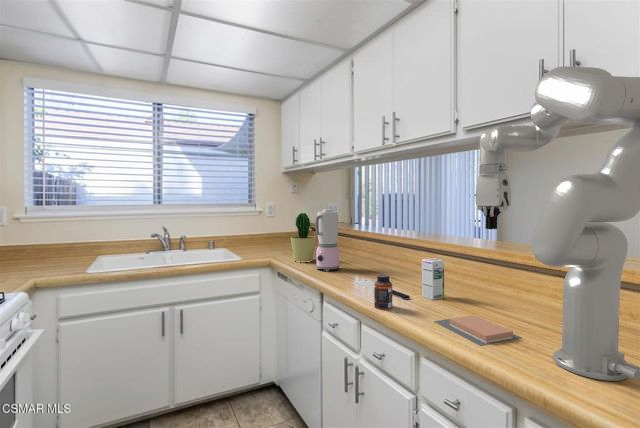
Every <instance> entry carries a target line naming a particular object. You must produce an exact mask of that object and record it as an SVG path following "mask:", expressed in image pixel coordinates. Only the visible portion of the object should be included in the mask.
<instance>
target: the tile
mask: <svg viewBox="0 0 640 428" xmlns="http://www.w3.org/2000/svg"><path fill="white" fill-rule="evenodd" d="M449 319H450V325H451V326H453V327H455V328H457V329H459V330H461V331H463V332H465V333H467V334H469V335H471V336H473V337H475V338H477V339H479V340H481V341H483V342H485V343H489V342H495V341H500V340H506V339H511V338H513V334H514V330H511V329H510V328H506V327H504V326H502V325H499V324H497V323H495V322H492V321H489V320H487V319H484V318H482V317H480V316H478V315H474V314H472V315H468V316H467V315H466V316H460V317H454V318H453V319H452V318H449Z"/></svg>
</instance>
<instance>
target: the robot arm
mask: <svg viewBox="0 0 640 428" xmlns="http://www.w3.org/2000/svg"><path fill="white" fill-rule="evenodd" d="M534 98H535V102H534V103H533V104H532V105H531V108H530V118H531V119H530V120H531V121H532V123H533V124H530V125H521V124H519V125H517V124H515V125H514V124H512V125H510V124H509V125H508V124H507V125H506V124H505V125H504V124H503V125H502V124H501V125H497V126H494V127H493V128H492V129H490V130H488V131H485V132H482V133H481V134H480V136H479V156H478V157H479V160H478V161H479V163H478V164H479V165H478V172H479V173H478V176H477V181H476V186H475V205H477V208H476V209H477V210H478V211H480V212H482V213H483V216H484V217H485V229H486V230H497V229H498V217H500V214H502V212H506V211H508V209H509V208H508V207H510V206H511V203H512V193H511V192H512V191H511V182H510V178H509V175H508V174H507V171H508V170H509V166H507V153H509V152H510V153H511V152H512V153H513V152H516V153H518V152H519V153H527V152H533V151H535V150H538V149H541V148H543V147H544V146H546V145H548V144H550V143H552V141H554V140H555V139H556V137H558V134H559V133H560V130H561V128H562V127H563V126H564V125H566V124H568V123H570V122H572V121H575V122H578V123H581V124H587V125H610V126H611V125H612V126H613V125H615V126H622V125H625V126H630V127H631V129H629V131H627V132H626V133H625V134H624V135H622V136H621V137H620V138H619V139H618V140H617V141H616V142H615V143H614V144H613V146H611V148H610V150H608V152H607V154H606V157H605V159H604V161H603V163H602V164H601V166H600V169H598V171H597V172H596V173H594V174H593V173H592V174H591V173H583V174H580V173H579V174H573V175H569V176H566V177H564V178H563V179H561V180H560V181H558V182H557V183H556V184H555V185H554V186H553V188H552V189H551V191H550V192H549V194H548V197H547V198H546V199H547V200H546V202H545V204H544V207H543V209H542V211H541V214H540V216H539V219H538V221H537V224H536V226H535V229H534V230H533V233H532V239H531V249H532V253H533V255H534V257H535V259H536V260H537V261H538V262H540V263H541V264H543V265H545V266H548V267H552V268H554V267H555V268H568V267H569V269H568V270H567V272H566V274H565V277H564V280H563V289H562V291H563V292H562V324H561V326H562V330H561V332H562V333H561V334H562V335H561V337H562V338H561V348H560V349H556V350H555V351H554V352H553V356H552V357H553V360H554V362H555V363H556V364H557V365H559V367H561V368H563V369H565V370H567V371H569V372H571V373H574V374H577V375H579V376H582V377H586V378H590V379H595V380H599V381H610V382H617V381H618V382H619V381H622V380H623V381H624V380H625V379H627V378H630V379H632V380H634V381H638V380H640V366H638V365H635V364H633V363H629V362H627V361H626V359H625V353H624V352H621V351H619V341H620V339H619V337H620V334H619V333H620V306H621V304H620V301H621V283H622V277H623V270H624V266H625V263H626V261H627V260H626V259H627V256H628V251H629V243H628V239H627V236H626V235H625V233H624V232H623V231H622V230H621V228H619V227H618V226H616V225H613V224H611V223H617V222H619V223H620V222H626V221H628V220H629V221H630V220H631V219H634V218H635V217H636V216H637V215H638V214H639V212H640V76H620V75H619V76H618V75H617V76H615V75H612V74H611V72H609V71H607V70H606V69H602V68H599V67H593V66H592V67H591V66H589V67H588V66H571V65H570V66H569V65H568V66H566V65H565V66H558V67H555V68H554V67H553V68H552V69H551V70H549V71H547V72H545V73H544V74H543V76H541V78H540V79H539V80H538V82H537V84H536V86H535V91H534Z"/></svg>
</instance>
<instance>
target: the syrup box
mask: <svg viewBox="0 0 640 428" xmlns="http://www.w3.org/2000/svg"><path fill="white" fill-rule="evenodd" d="M421 277H422V278H421V284H422V285H421V288H422V289H421V292H422V293H421V295H422V297H423V298H424V299H428V300H430V301H437V300H442V299H445V260H444V259H442V258H441V259H440V258H434V257H433V258H423V259H421Z"/></svg>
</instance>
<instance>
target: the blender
mask: <svg viewBox="0 0 640 428" xmlns="http://www.w3.org/2000/svg"><path fill="white" fill-rule="evenodd" d="M316 215H317V216H316V217H315V234H316V235H317V239H318V246H317V248H316V253H315V254H316V269H317V268H318V270H324V271H325V270H327V271H329V272H330V270H336V269H337V268H339V269H340V249H339V247H338V244H337V243H338V236H339V212H338V211H333V209H322V211H318V212H317V213H316ZM337 270H338V269H337Z"/></svg>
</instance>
